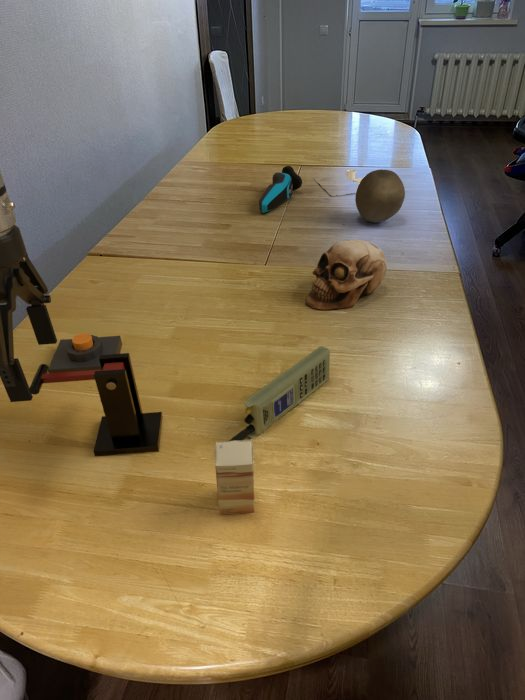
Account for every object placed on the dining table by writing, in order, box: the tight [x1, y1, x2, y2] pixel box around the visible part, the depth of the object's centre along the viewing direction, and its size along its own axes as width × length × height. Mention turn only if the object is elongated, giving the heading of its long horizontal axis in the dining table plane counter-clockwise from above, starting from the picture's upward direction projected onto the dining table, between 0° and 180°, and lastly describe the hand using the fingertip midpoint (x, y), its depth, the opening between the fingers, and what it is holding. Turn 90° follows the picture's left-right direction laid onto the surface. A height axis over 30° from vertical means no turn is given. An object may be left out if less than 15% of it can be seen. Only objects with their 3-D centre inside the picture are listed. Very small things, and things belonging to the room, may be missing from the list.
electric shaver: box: [258, 165, 303, 214], centre depth 169 cm, size 9×26×10 cm
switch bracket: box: [92, 352, 163, 457], centre depth 80 cm, size 10×8×15 cm
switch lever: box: [29, 362, 125, 396], centre depth 77 cm, size 13×6×2 cm, turn 95°
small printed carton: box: [214, 439, 255, 515], centre depth 70 cm, size 5×4×10 cm
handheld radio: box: [228, 346, 331, 441], centre depth 86 cm, size 7×3×25 cm
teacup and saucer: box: [345, 168, 362, 183], centre depth 184 cm, size 9×8×4 cm
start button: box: [71, 333, 93, 351], centre depth 99 cm, size 4×4×2 cm
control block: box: [48, 334, 123, 373], centre depth 101 cm, size 12×10×4 cm
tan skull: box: [304, 239, 388, 311], centre depth 117 cm, size 16×17×13 cm
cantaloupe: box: [354, 168, 406, 223], centre depth 150 cm, size 14×14×15 cm
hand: (36, 369), depth 75 cm, fingers open, 13 cm apart
